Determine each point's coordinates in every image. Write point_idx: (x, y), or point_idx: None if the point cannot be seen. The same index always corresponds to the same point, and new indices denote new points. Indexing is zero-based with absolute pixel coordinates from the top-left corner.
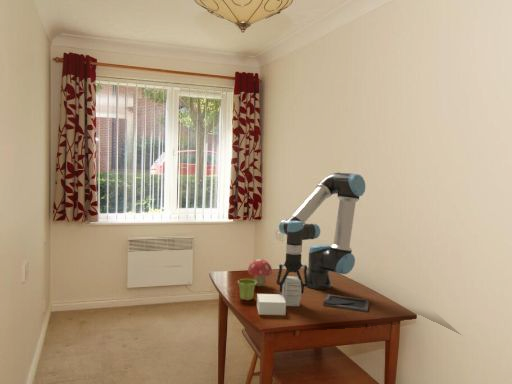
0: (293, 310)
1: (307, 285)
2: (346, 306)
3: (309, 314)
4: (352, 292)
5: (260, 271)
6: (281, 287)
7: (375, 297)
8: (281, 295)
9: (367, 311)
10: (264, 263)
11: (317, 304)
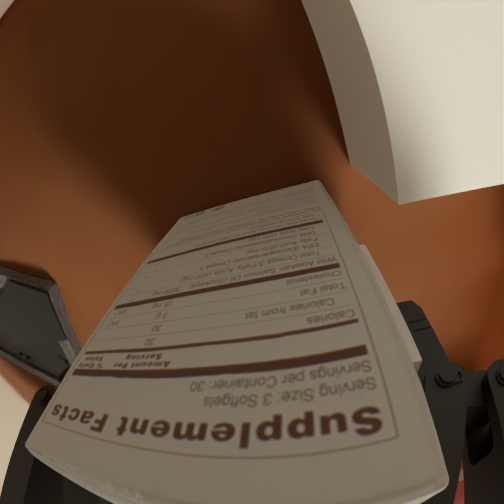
0: (215, 74)
1: (40, 390)
2: None
3: (78, 53)
4: None
5: (460, 477)
6: (422, 350)
7: (12, 378)
8: (410, 143)
9: None
10: None
11: (84, 292)
